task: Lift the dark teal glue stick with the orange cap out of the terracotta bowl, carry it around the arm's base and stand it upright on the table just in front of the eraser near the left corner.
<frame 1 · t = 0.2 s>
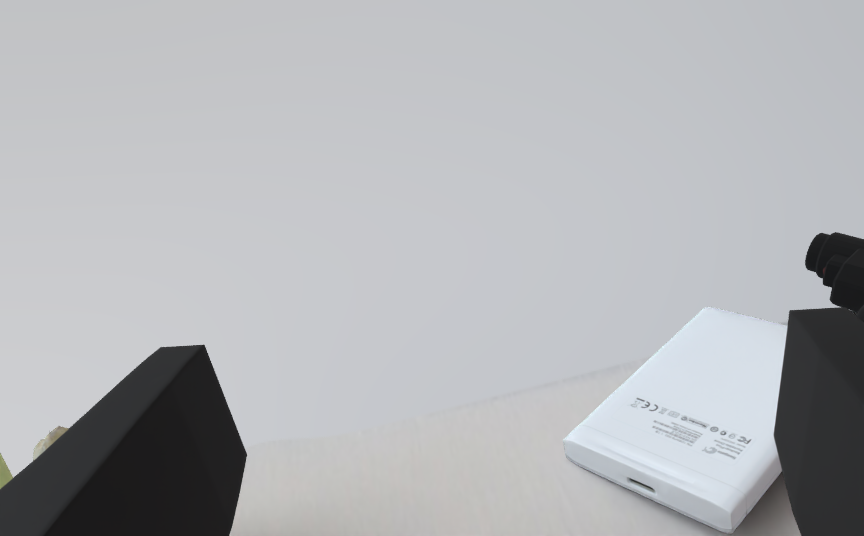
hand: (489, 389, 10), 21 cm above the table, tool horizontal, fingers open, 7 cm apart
hard drive: (780, 332, 41), point 1 cm above the table, touching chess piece
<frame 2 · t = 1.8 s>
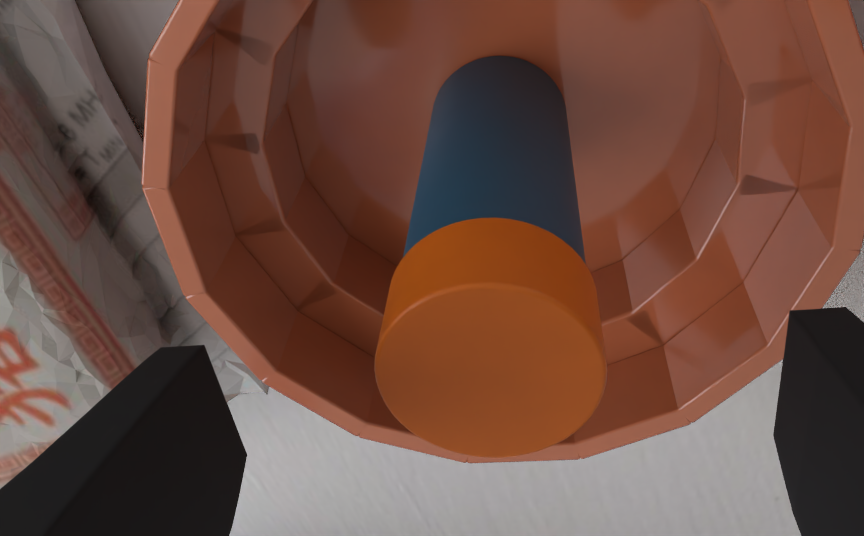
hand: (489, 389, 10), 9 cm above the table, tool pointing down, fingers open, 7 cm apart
bowl: (499, 109, 17), on the table
glue stick: (498, 119, 17), resting on bowl
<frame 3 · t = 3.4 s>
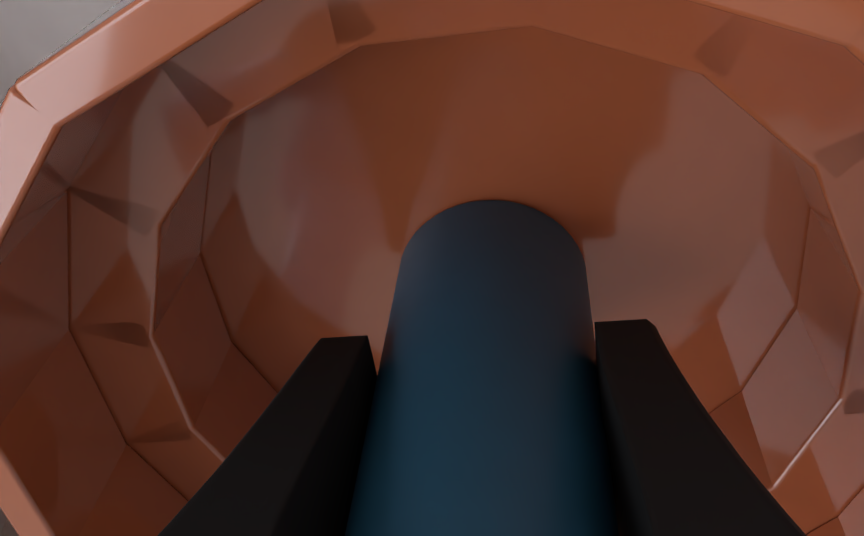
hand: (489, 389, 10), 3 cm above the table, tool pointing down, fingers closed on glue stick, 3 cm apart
bowl: (494, 260, 13), on the table
glue stick: (491, 278, 12), resting on bowl, touching gripper
when the fingers open (2 cm above the table, at t = 9.6 s): glue stick stays where it is, on the table.
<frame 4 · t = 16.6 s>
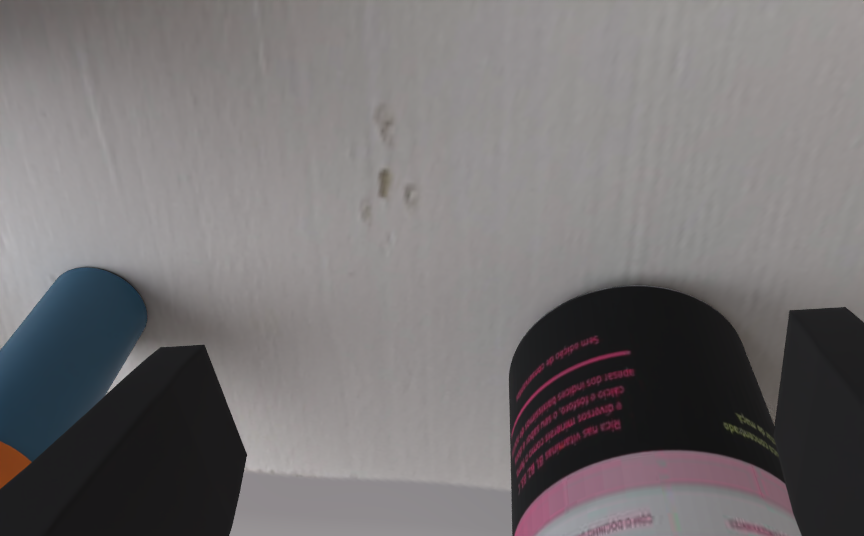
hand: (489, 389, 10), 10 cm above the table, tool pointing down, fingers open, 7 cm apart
beverage can: (622, 363, 24), on the table
glue stick: (100, 305, 24), on the table
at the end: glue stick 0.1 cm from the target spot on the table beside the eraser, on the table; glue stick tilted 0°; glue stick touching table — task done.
